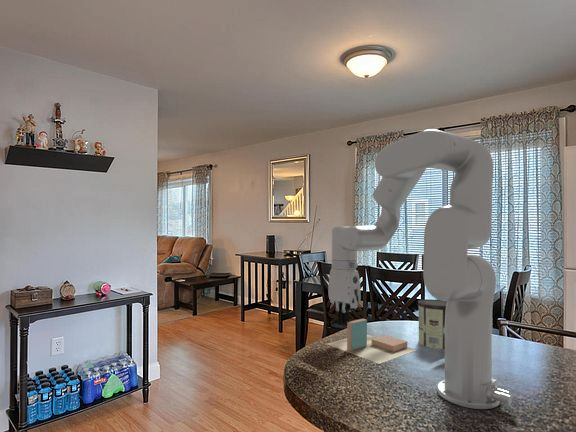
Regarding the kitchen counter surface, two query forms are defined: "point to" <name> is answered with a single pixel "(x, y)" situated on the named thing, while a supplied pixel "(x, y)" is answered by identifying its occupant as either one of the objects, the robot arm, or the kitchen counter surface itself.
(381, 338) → the tile right
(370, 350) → the board
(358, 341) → the tile left
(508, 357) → the kitchen counter surface
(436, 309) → the coffee can
